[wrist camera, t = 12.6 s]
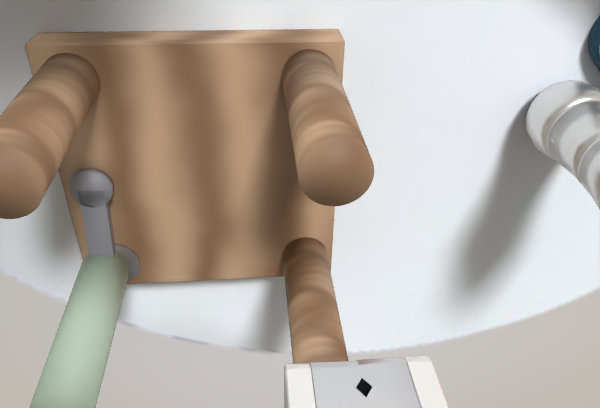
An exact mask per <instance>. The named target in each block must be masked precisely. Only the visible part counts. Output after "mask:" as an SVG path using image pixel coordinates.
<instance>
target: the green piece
mask: <svg viewBox="0 0 600 408" xmlns="http://www.w3.org/2000/svg"><path fill="white" fill-rule="evenodd" d="M69 191H70V194H71V196H72V197H73V199H74V200H75V201H76V202H78V203H79V204H80V208H81V213H82V219H83V225H84V230H85V236H86V241H87V247H88V252H89V254H87V255H86V256H85V258H84V259H83V262H82V264H81V267H80V270H79V273H78V275H77V278H76V281H75V284H74V286H73V289H72V292H71V295H70V297H69V300H68V303H67V306H66V309H65V311H64V314H63V317H62V320H61V322H60V325H59V328H58V330H57V333H56V336H55V339H54V341H53V344H52V347H51V350H50V352H49V355H48V358H47V361H46V364H45V366H44V369H43V372H42V374H41V377H40V380H39V383H38V385H37V388H36V391H35V394H34V396H33V399H32V402H31V405H30V408H95V407H96V403H97V399H98V395H99V391H100V387H101V383H102V379H103V375H104V371H105V367H106V363H107V359H108V355H109V351H110V347H111V343H112V339H113V335H114V331H115V327H116V323H117V319H118V315H119V311H120V307H121V303H122V299H123V295H124V291H125V287H126V283H127V279H128V275H129V271H130V267H129V263H128V262H127V260H126V259H125V258H124V257H123V256H122V255H121V254H119V253H117V252H116V251H115V244H114V237H113V230H112V223H111V216H110V209H109V201H110V199H111V197H112V194H113V191H114V183H113V181H112V179H111V178H110V176H109V175H108V174H106V173H105V172H103V171H102V170H99V169H96V168H84V169H81V170H79V171H77V172H76V173H75V174H74V176H73V178H72V180H71V182H70V185H69Z"/></svg>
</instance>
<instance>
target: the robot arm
mask: <svg viewBox="0 0 600 408" xmlns="http://www.w3.org/2000/svg"><path fill="white" fill-rule="evenodd" d="M284 367H285V368H284V374H285V375H284V378H285V379H284V406H285V408H448V406H447V403H446V400H445V397H444V394H443V392H442V389H441V386H440V383H439V381H438V378H437V375H436V372H435V370H434V367H433V364H432V361H431V359H430V358H429V357H428V356H414V357H403V358H402V357H392V358H378V359H365V360H356V361H345V362H316V363H310V364H309V363H295V364H285V366H284Z"/></svg>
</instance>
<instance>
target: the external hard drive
mask: <svg viewBox="0 0 600 408" xmlns="http://www.w3.org/2000/svg"><path fill="white" fill-rule="evenodd" d="M588 47H589V52H590V55H591V57H592V59H593V61H594V63H595V64H596V66H597V67H598V69H599V70H600V17H599V18H598V20H597V21H596V22H595V24H594V26H593V28H592V30H591V33H590V37H589V46H588Z"/></svg>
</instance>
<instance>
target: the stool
mask: <svg viewBox="0 0 600 408" xmlns="http://www.w3.org/2000/svg"><path fill="white" fill-rule="evenodd" d="M344 45H345V41H344V39H343V37H342V35H341V33H340V31H339V29H302V30H219V31H137V32H54V33H37V34H36V36H35V37H34V38H33V39H32V40H31V41H30V42H29V43H28V44H27V45H26V46H25V48H26V52H27V56H28V59H29V63H30V67H31V70H32V74H33V77H32V78H31V79H30V80H29V82H28V83H27V84H26V85H25V86H24V88H23V89H22V90H21V91H20V92H19V94H18V95H17V96H16V97H15V98H14V100H13V101H12V102H11V103H10V104H9V106H8V107H7V108H6V109H5V110H4V112H3V113H2V114H1V115H0V218H3V219H15V218H20V217H24V216H26V215H28V214H30V213H32V212H33V211H34V210H35V209H36V208H37V207H38V206H39V204H40V202H41V200H42V198H43V197H44V195H45V193H46V191H47V189H48V187H49V185H50V183H51V182H52V180H53V178H54V176H55V174H56V172H57V170H59V173H60V177H61V181H62V184H63V188H64V192H65V195H66V199H67V203H68V207H69V210H70V214H71V218H72V221H73V225H74V229H75V232H76V236H77V240H78V243H79V247H80V251H81V254H82V258H83V259H84V258H85V256H86V255H87V254H89V252H88V247H87V241H86V236H85V230H84V225H83V219H82V213H81V208H80V204H79V203H78V202H76V201H75V200H74V199H73V197H72V196H71V194H70V191H69V185H70V182H71V180H72V178H73V176H74V174H75V173H76V172H77V171H79V170H81V169H84V168H96V169H99V170H102V171H103V172H105V173H106V174H108V175H109V176H110V178H111V179H112V181H113V183H114V191H113V194H112V197H111V199H110V201H109V209H110V216H111V223H112V230H113V237H114V244H115V251H116V252H117V253H119V254H121V255H122V256H123V257H124V258H125V259H126V260H127V262H128V263H129V267H130V271H129V275H128V279H127V283H126V284H136V283H156V282H177V281H197V280H218V279H238V278H258V277H279V276H285V286H286V296H287V306H288V316H289V326H290V336H291V346H292V357H293V364H295V363H309V364H310V363H316V362H345V361H348V356H347V352H346V347H345V342H344V337H343V332H342V327H341V322H340V317H339V312H338V307H337V302H336V297H335V292H334V287H333V282H332V277H331V257H332V241H333V224H334V208H335V206H341V205H345V204H348V203H351V202H353V201H355V200H356V199H358V198H359V197H361V196H362V195H363V194H364V193H365V192H366V191H367V189H368V188H369V186H370V184H371V182H372V180H373V176H374V165H373V162H372V159H371V157H370V154H369V152H368V149H367V146H366V144H365V141H364V139H363V136H362V134H361V131H360V129H359V126H358V124H357V121H356V119H355V116H354V114H353V111H352V109H351V106H350V104H349V101H348V98H347V96H346V93H345V91H344V88H343V86H342V78H343V62H344Z"/></svg>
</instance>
